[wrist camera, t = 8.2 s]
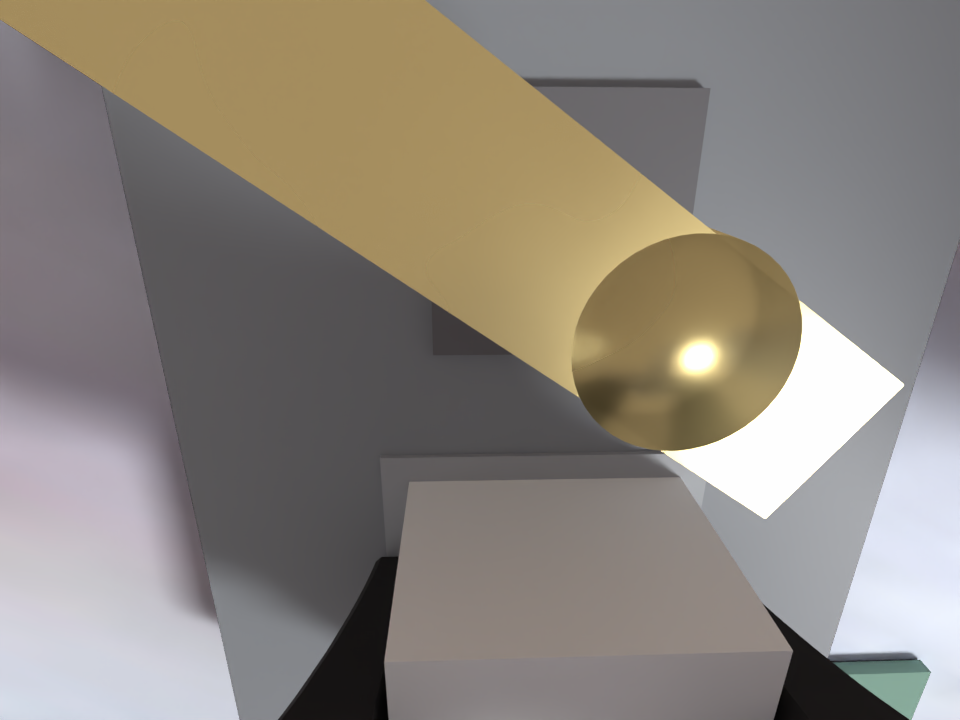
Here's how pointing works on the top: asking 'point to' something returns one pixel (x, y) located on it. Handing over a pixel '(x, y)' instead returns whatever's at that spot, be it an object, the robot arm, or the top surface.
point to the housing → (498, 373)
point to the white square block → (574, 607)
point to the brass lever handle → (493, 217)
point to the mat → (891, 681)
